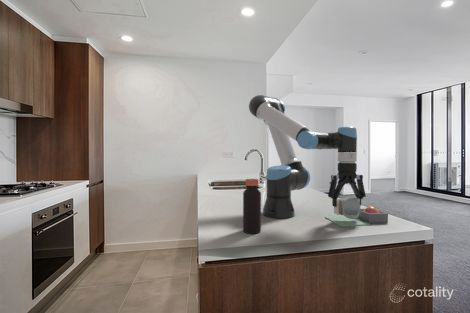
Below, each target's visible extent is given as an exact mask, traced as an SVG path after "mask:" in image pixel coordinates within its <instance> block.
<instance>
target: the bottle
mask: <svg viewBox="0 0 470 313" xmlns="http://www.w3.org/2000/svg"><path fill="white" fill-rule="evenodd" d="M245 187H246V188H245V189H244V191H243V193H242V196H243V197H242V200H243V202H242V205H243V206H242V214H243V215H242V217H243V218H242V219H243V220H242V223H243V225H242V226H243V227H242V230H243V232H244V233H246V234H248V235H249V234H250V235H256V234H260V233H261V230H262V224H261V222H262V220H261V219H262V218H261V217H262V215H261V214H262V213H261V212H262V203H261V202H262V193H261V191H260V189H259V188H258V187H259V179H257V178H246V179H245Z"/></svg>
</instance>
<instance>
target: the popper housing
mask: <svg viewBox="0 0 470 313" xmlns="http://www.w3.org/2000/svg"><path fill="white" fill-rule="evenodd" d="M365 209H366V208H360V215H359V216H358V218H357V219H360V220H362V221H364V222H366V223H369V224H383V223H384V224H386V223H388V222H389V213H388V212H385V211H382V210H378V209H377V211H379V212H380V213H370V214H369V213H367V212H364V211H363V210H365Z"/></svg>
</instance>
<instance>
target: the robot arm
mask: <svg viewBox="0 0 470 313" xmlns="http://www.w3.org/2000/svg"><path fill="white" fill-rule="evenodd" d="M248 111H249V112H250V114H251V115H253V117H255V118H257V119H258V120H260V121H261V120H263V123H264V124H265V125H267V126H268V128H269V132H270V135H271V137H272V141H273V143H274V147H275V150H276V152H277V156H278V159H279V161H280V163H281V165H275V166H270V167H268V168H267V169H266V199H265V203H264V205H263V208H262V214H263V216H265V217H267V218H268V217H269V218H273V219H290V218H293V217H295V208H294V205H293V201H292V191H296V190H297V191H299V190H301V189H302V190H303V189H304V188H306V187H307V186H308V185H309V183H310V181H311V173H310V171H309V170H308V169H307V168H306V167H304V165H303V164H302V161H301V160H300V159H298V158H297V155H296V153H295V150H294V147H293V144H292V141H291V139H293V140H294V141H295V142H297V145H298V146H299V147H300V148H302V149H306V150H337V162H338V163H337V174H332V175H331V176H330V179H331V181H330V185H329V190H328V194H327V197H328V198H330V199H331V200H332V207H333V214H335V215H337V216H340V214H339V200H338V199H339V196H340V194H341V192H342V190H343V188H344V186H345V185H347V184H349V186H350V187H351V189H352V192H353V193H354V195H355V198H357V199H358V200H359V203H360V207H361V206H362V200H363V199H364V198H366V190H365V187H364V180H363V179H364V175H363V174H357V169H358V168H357V167H358V164H357V163H356V162H357V157H358V155H357V154H358V153H357V150H358V149H357V148H358V145H357V144H358V141H357V140H358V134H357V128H356V127H355V126H340V127H337V131H336V132H320V131H314V130H312V129H311V128H308V127H307V126H305V125H303V124H302V123H300V122H299V121H297V120H295V119H293V118H291V117H290V116H288V115H286V114H285V111H286V106H285V103H284V102H283V101H282V100H281V99H280V98H279V99H278V98H276V97H271V96H266V95H263V94H262V95H261V94H260V95H259V94H258V95H255V96H253V97H252V98H251V99H250V101H249V103H248ZM290 138H291V139H290Z"/></svg>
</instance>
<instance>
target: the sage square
mask: <svg viewBox="0 0 470 313" xmlns="http://www.w3.org/2000/svg"><path fill="white" fill-rule="evenodd" d="M324 218H325V219H326V220H329V221H331V222H332V223H334V224H336V225H338V226H340V227H359V226H370V225H371V223H367V222H364V221H362V220H360V219H349V218H347V217H345V216H344V215H337V216H336V215H335V216H325V217H324Z"/></svg>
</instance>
